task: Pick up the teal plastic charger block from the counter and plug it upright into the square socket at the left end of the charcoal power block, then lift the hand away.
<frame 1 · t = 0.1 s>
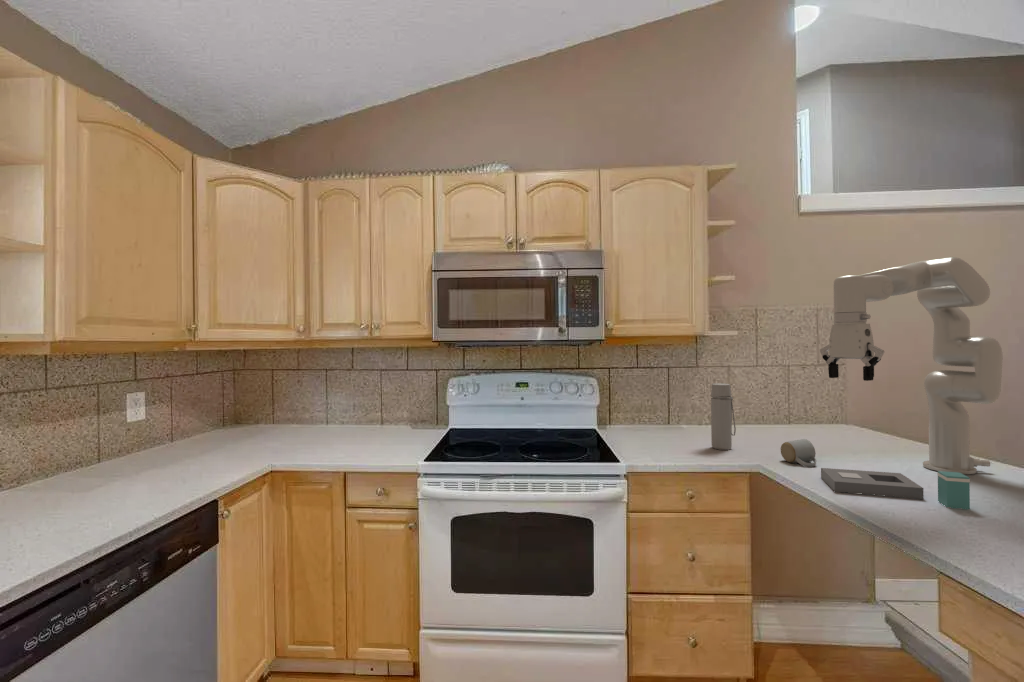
hand: (850, 379, 134), 31 cm above the countertop, tool pointing down, fingers open, 9 cm apart
ceramic mug: (800, 463, 161), on the countertop
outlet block: (868, 487, 134), on the countertop
charger block: (953, 505, 120), on the countertop
water bottle: (723, 448, 183), on the countertop
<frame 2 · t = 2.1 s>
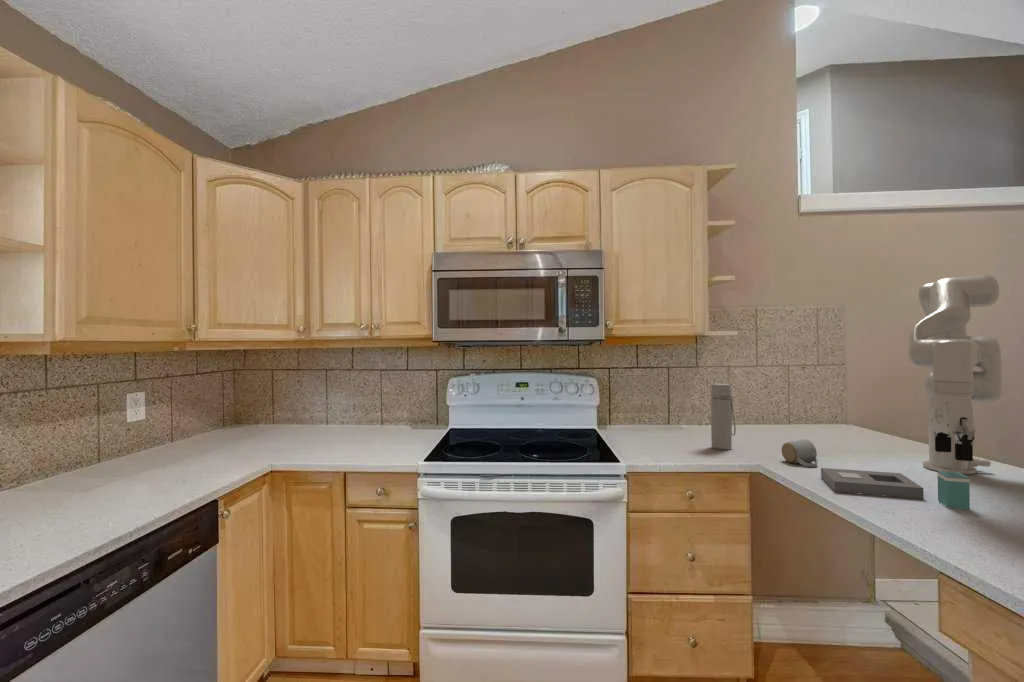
hand: (953, 455, 119), 13 cm above the countertop, tool pointing down, fingers open, 9 cm apart
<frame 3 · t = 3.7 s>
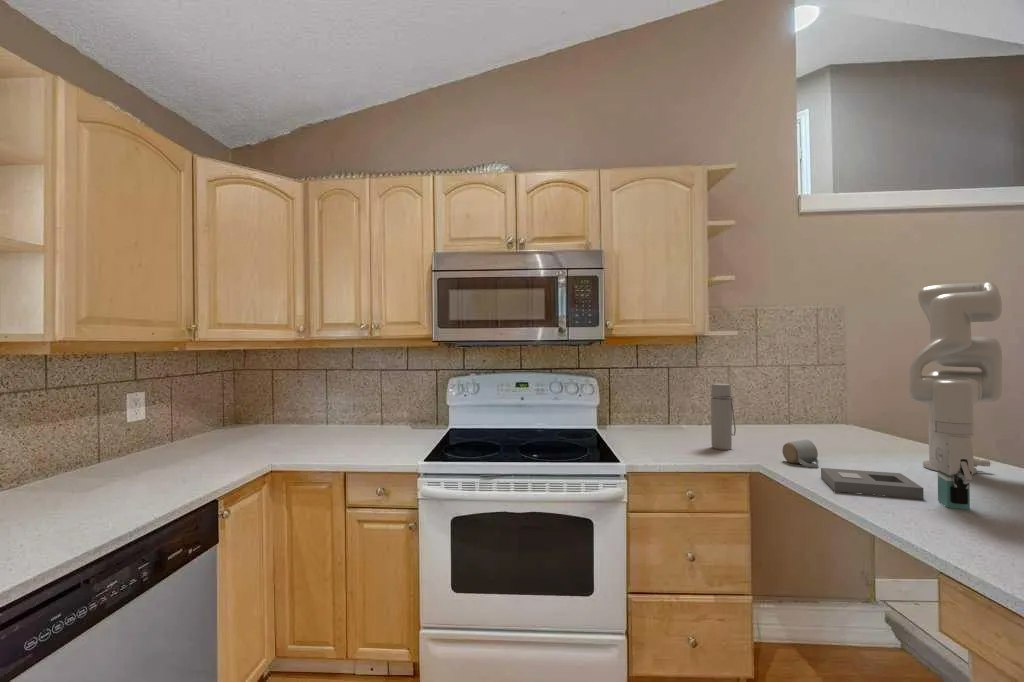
hand: (953, 499, 120), 2 cm above the countertop, tool pointing down, fingers closed on charger block, 4 cm apart
charger block: (953, 505, 120), on the countertop, touching gripper
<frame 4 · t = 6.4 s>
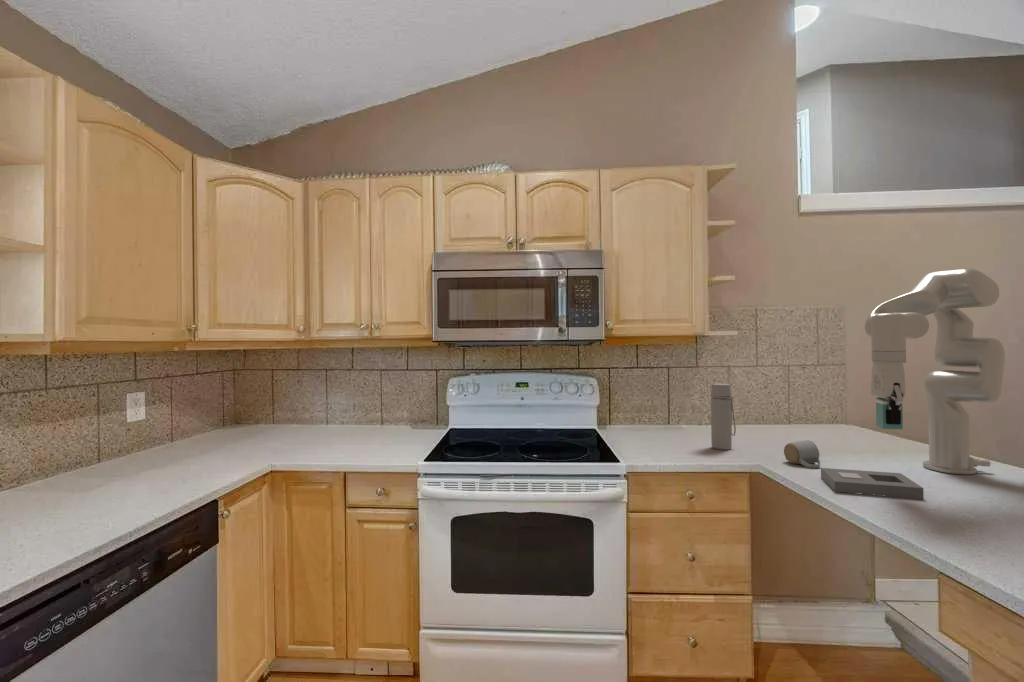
hand: (889, 421, 132), 19 cm above the countertop, tool pointing down, fingers closed on charger block, 4 cm apart
charger block: (889, 427, 132), point 18 cm above the countertop, touching gripper
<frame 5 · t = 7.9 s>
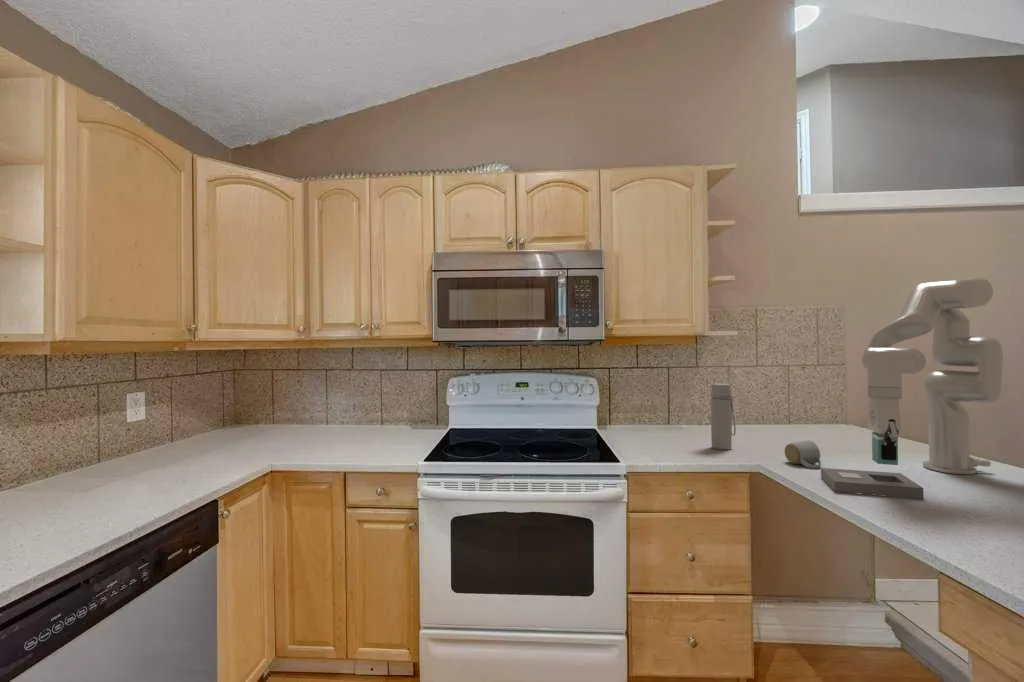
hand: (885, 456, 133), 9 cm above the countertop, tool pointing down, fingers closed on charger block, 4 cm apart
charger block: (884, 462, 133), point 8 cm above the countertop, touching gripper
when the fingers open (5 cm above the countertop, at t = 9.1 s): charger block drops 3 cm, resting in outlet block.
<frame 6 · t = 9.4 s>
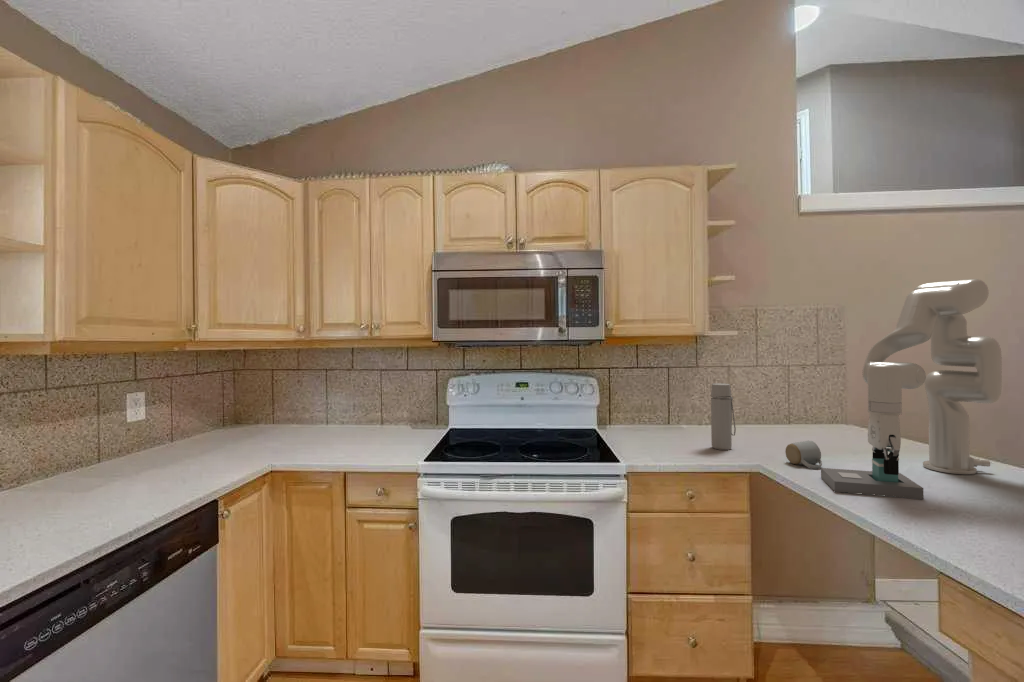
hand: (885, 469, 133), 5 cm above the countertop, tool pointing down, fingers open, 7 cm apart
charger block: (885, 489, 133), resting in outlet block
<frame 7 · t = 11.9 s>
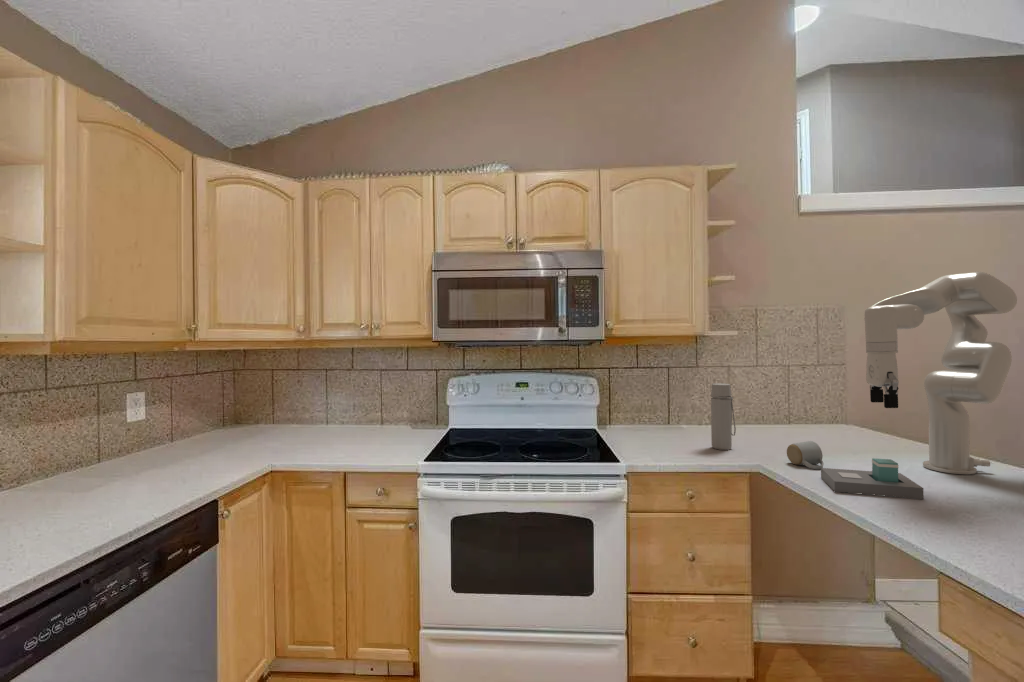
hand: (883, 404, 140), 23 cm above the countertop, tool pointing down, fingers open, 9 cm apart
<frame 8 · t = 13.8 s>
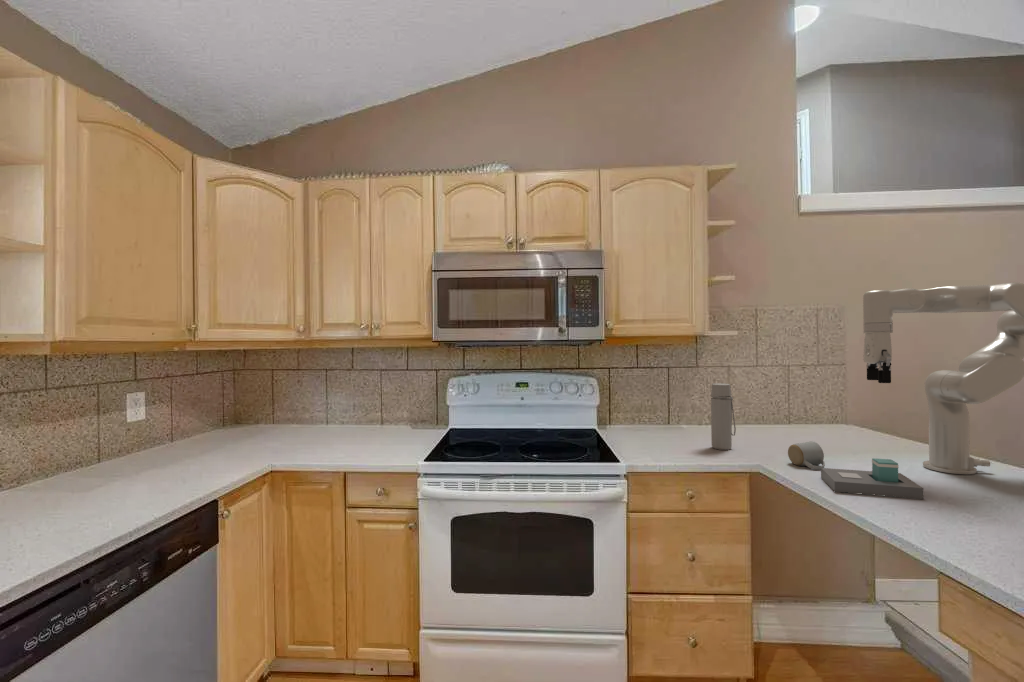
hand: (878, 381, 152), 28 cm above the countertop, tool pointing down, fingers open, 9 cm apart
at the end: charger block 0.1 cm from the target spot on the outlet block, point 0.0 cm above the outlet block's base; charger block tilted 0°; the gripper is holding nothing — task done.
